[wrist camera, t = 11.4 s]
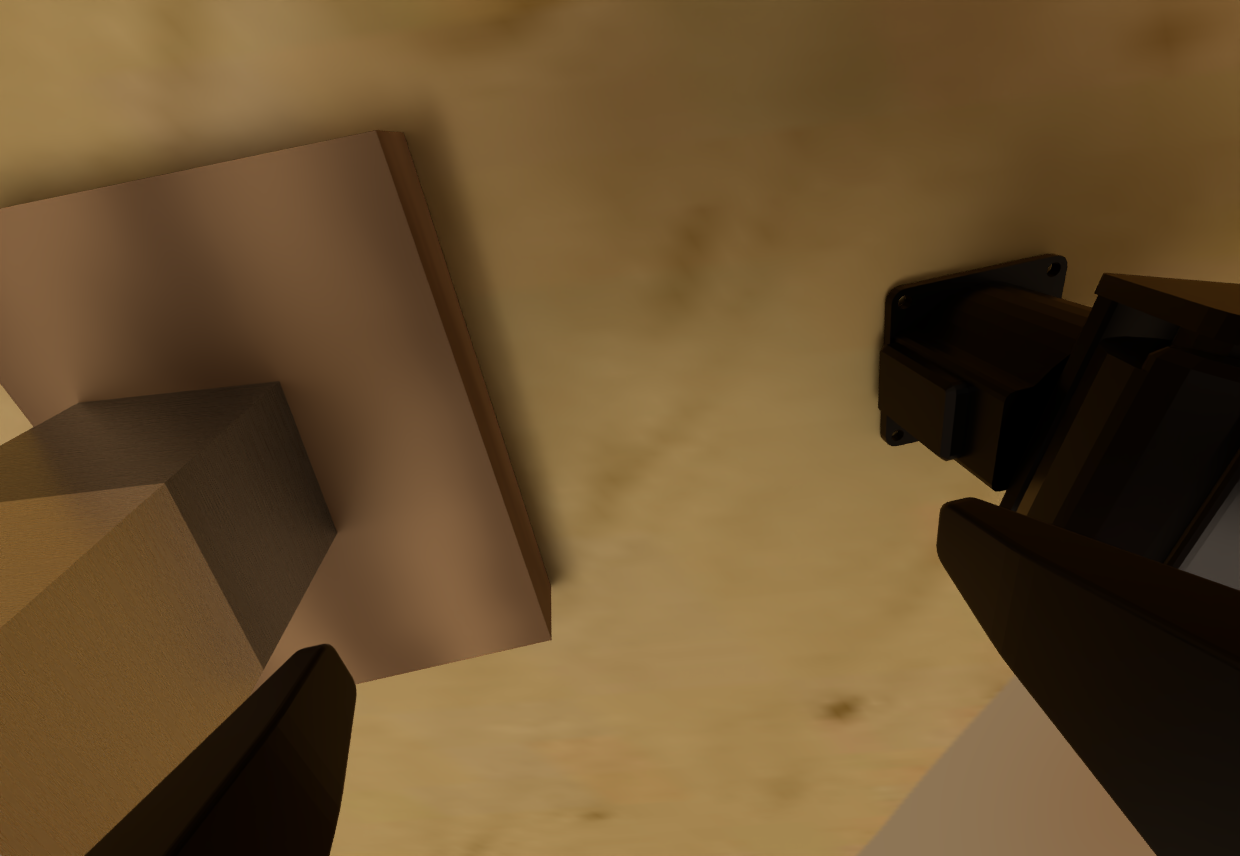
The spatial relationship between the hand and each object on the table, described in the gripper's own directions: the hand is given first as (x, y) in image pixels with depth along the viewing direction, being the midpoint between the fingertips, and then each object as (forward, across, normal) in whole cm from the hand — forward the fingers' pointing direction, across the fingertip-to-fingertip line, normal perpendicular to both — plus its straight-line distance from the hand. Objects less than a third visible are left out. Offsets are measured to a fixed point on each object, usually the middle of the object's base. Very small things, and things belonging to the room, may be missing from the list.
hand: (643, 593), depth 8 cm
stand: (+13, +10, +2) cm, 17 cm away
